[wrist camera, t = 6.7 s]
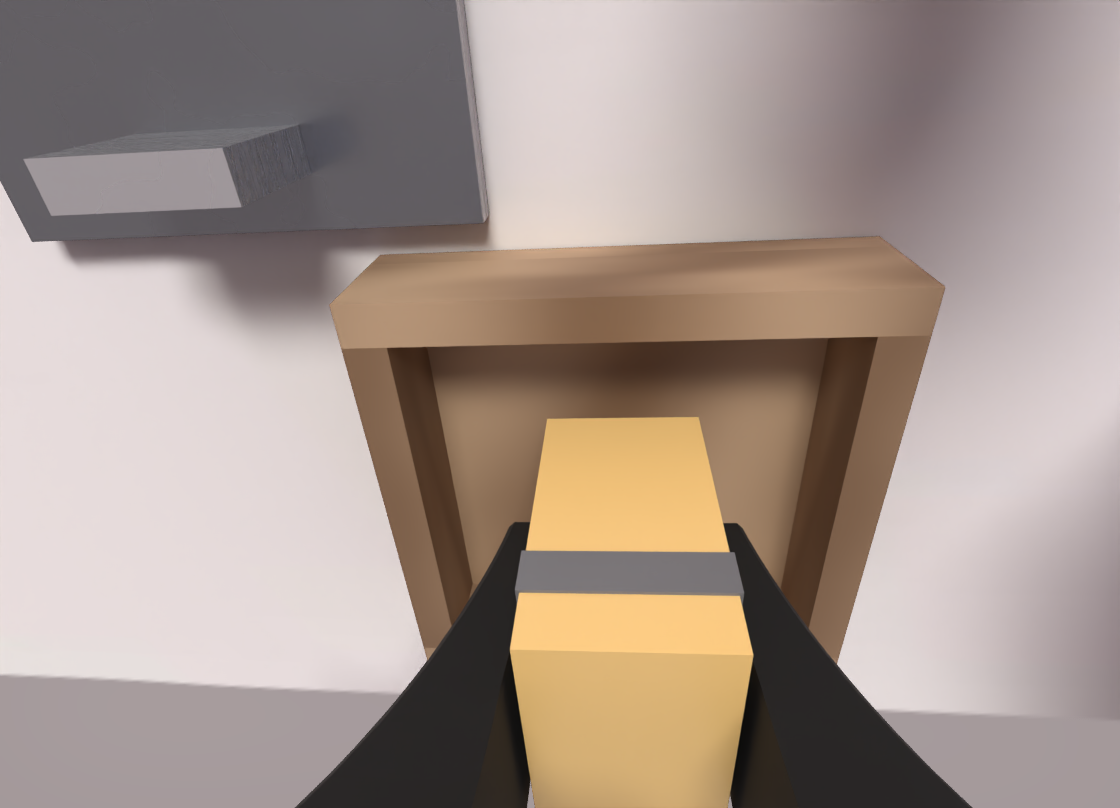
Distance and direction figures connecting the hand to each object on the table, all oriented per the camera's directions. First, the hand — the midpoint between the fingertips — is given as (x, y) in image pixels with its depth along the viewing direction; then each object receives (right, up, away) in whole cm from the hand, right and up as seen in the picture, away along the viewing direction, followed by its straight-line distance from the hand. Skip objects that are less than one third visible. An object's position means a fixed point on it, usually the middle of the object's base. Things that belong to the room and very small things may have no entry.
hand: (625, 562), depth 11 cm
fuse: (0, +1, +1) cm, 2 cm away
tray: (0, +2, +3) cm, 4 cm away
